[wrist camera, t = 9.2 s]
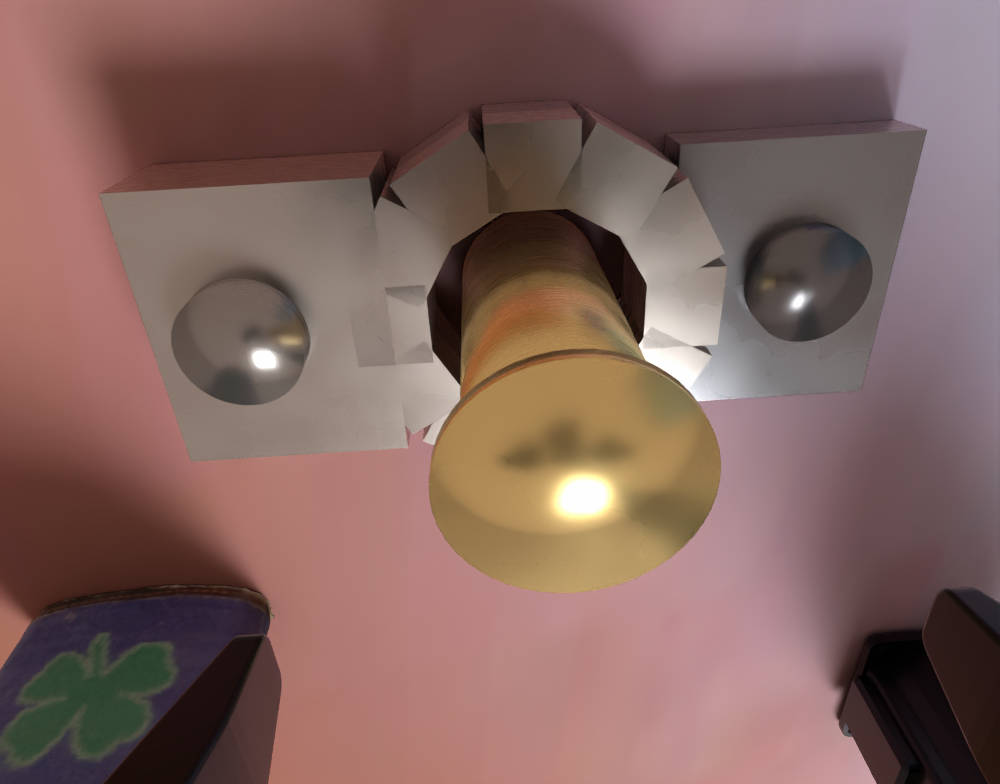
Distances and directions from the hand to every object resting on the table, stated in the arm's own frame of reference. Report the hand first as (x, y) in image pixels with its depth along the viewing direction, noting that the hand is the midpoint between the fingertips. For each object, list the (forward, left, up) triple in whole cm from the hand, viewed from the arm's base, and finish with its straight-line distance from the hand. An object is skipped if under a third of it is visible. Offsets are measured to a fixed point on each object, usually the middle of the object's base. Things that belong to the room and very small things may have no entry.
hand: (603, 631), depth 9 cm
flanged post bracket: (0, 0, -13) cm, 13 cm away
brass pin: (0, 0, -13) cm, 13 cm away
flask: (+15, +13, -13) cm, 24 cm away
